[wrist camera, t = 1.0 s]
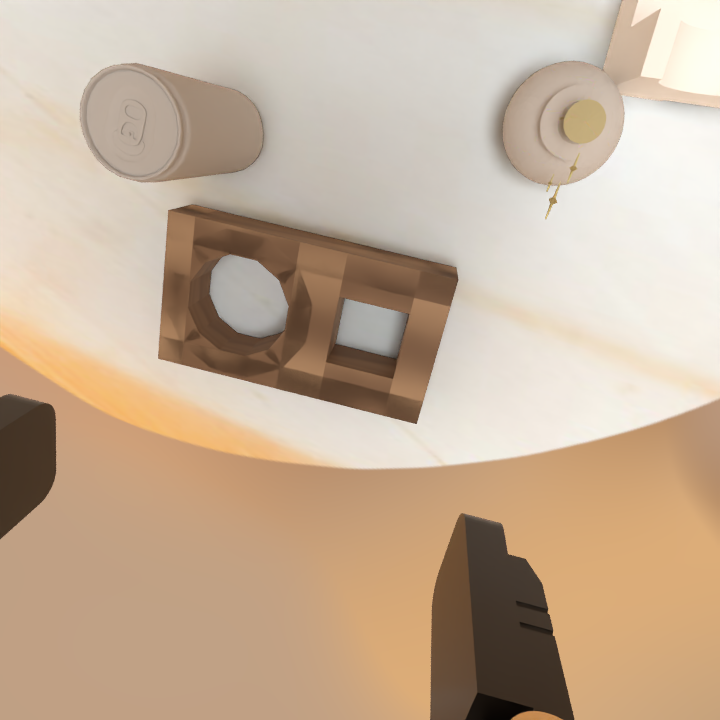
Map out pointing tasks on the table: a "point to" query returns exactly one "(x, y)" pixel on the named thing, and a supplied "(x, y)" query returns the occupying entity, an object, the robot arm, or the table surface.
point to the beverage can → (167, 125)
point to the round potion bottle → (563, 124)
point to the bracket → (667, 51)
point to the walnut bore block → (303, 311)
